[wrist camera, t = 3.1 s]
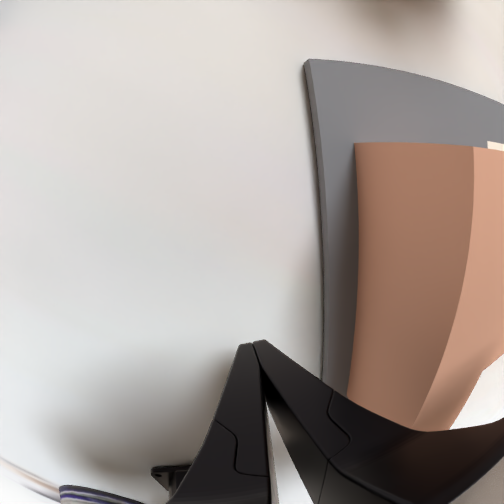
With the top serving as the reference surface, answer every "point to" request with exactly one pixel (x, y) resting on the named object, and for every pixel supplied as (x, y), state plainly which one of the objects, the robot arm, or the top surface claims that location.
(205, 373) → the top surface
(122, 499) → the vase
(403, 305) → the t block
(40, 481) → the top surface
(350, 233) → the mat
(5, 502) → the top surface
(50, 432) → the top surface
